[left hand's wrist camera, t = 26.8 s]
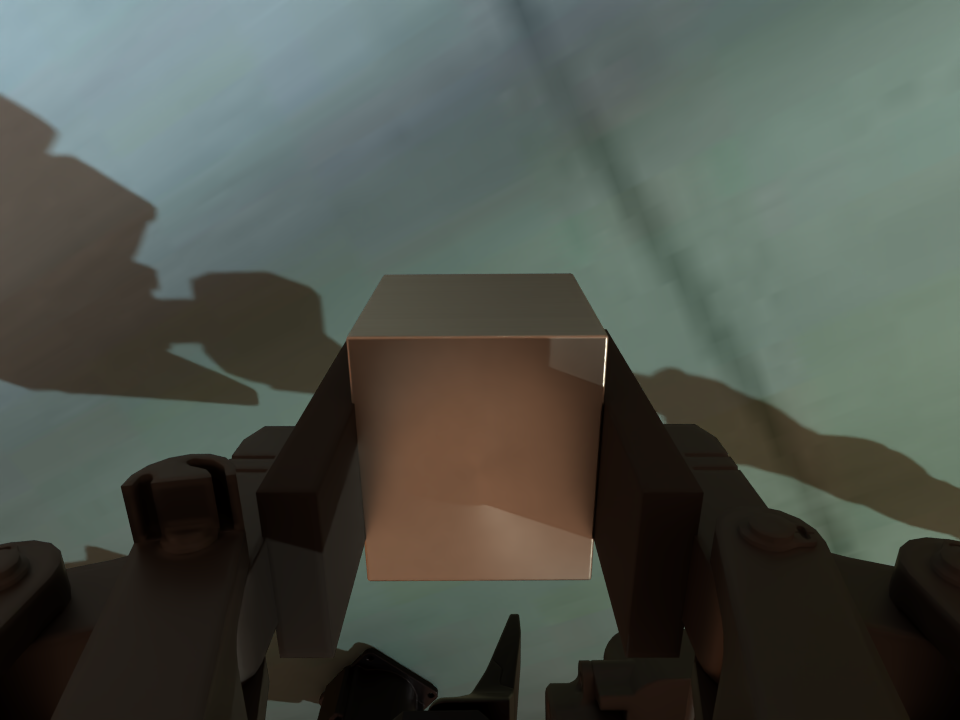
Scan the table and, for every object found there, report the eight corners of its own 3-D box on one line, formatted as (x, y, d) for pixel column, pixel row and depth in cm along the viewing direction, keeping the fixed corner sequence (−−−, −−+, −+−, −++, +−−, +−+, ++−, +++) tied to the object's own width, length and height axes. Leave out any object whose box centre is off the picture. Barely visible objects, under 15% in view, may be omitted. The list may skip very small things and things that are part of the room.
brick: (563, 464, 16) (591, 581, 12) (395, 465, 16) (367, 582, 12) (572, 272, 14) (609, 335, 10) (383, 273, 14) (345, 337, 10)
